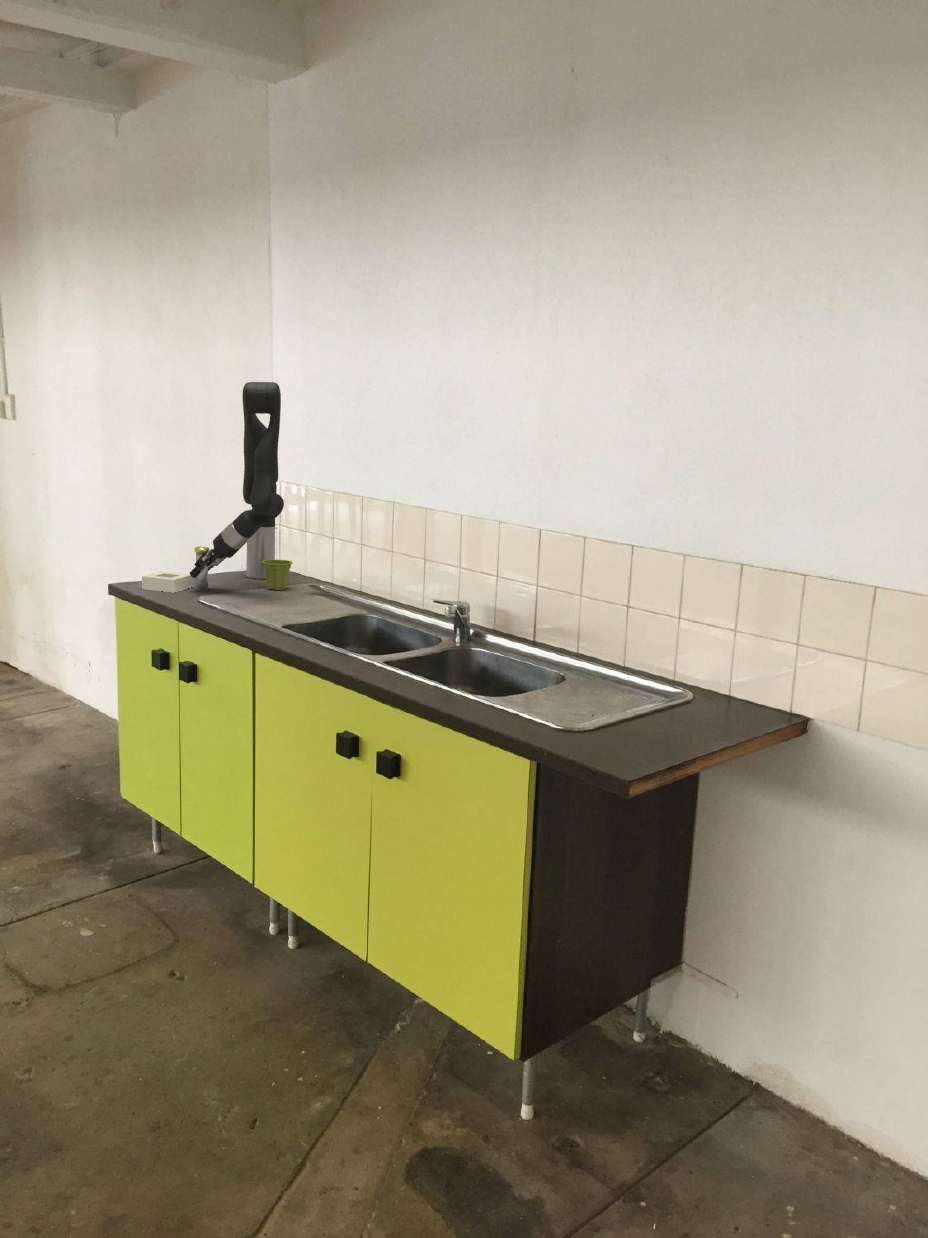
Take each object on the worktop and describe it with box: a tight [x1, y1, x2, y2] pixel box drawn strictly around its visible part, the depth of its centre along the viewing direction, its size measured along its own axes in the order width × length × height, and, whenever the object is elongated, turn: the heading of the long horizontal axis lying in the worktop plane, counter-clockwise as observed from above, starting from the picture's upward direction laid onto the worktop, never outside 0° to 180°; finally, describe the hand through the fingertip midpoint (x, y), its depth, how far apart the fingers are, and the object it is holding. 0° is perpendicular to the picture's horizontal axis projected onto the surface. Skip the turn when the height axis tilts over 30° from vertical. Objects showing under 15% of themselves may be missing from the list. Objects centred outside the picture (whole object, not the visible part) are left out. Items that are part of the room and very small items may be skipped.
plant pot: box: [262, 559, 293, 591], centre depth 329 cm, size 9×9×9 cm
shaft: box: [194, 546, 210, 592], centre depth 319 cm, size 4×4×13 cm
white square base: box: [141, 571, 194, 594], centre depth 320 cm, size 11×11×4 cm
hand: (196, 574), depth 320 cm, fingers open, 4 cm apart
